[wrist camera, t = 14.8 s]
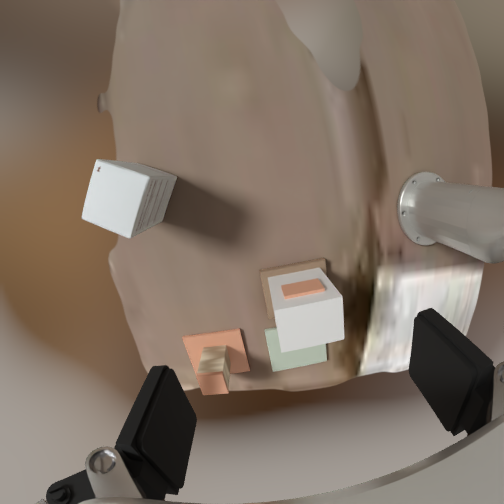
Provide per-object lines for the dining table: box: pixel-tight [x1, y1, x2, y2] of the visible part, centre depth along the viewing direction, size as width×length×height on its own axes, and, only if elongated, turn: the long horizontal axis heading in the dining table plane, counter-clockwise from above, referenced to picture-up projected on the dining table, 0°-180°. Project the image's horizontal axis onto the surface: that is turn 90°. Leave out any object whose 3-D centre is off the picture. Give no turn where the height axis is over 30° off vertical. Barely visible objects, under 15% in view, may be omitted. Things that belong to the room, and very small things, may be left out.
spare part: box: [196, 345, 231, 395], centre depth 41 cm, size 4×4×8 cm
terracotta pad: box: [183, 328, 250, 375], centre depth 45 cm, size 10×9×1 cm
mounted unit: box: [260, 258, 344, 353], centre depth 37 cm, size 10×8×12 cm
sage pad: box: [265, 327, 327, 372], centre depth 45 cm, size 10×9×1 cm
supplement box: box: [82, 159, 177, 239], centre depth 33 cm, size 7×7×13 cm
